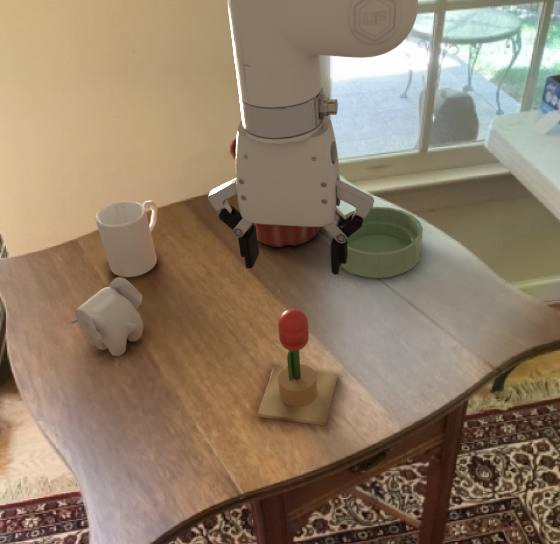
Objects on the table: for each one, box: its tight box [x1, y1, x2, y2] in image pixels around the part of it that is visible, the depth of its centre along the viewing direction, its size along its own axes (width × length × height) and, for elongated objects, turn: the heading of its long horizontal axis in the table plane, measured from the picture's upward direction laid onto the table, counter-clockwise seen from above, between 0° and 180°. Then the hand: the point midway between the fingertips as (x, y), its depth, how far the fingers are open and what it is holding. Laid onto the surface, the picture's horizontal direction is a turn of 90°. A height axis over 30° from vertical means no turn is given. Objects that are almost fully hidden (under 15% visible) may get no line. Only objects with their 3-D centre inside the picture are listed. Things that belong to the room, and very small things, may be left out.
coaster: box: [257, 366, 339, 426], centre depth 87 cm, size 9×9×1 cm
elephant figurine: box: [70, 276, 144, 357], centre depth 96 cm, size 10×12×9 cm
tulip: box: [277, 308, 317, 407], centre depth 82 cm, size 5×5×14 cm
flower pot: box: [228, 136, 321, 248], centre depth 112 cm, size 16×16×16 cm
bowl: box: [340, 206, 424, 279], centre depth 108 cm, size 14×14×5 cm
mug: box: [94, 200, 159, 278], centre depth 111 cm, size 8×12×10 cm, turn 146°
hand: (294, 264), depth 73 cm, fingers open, 9 cm apart
